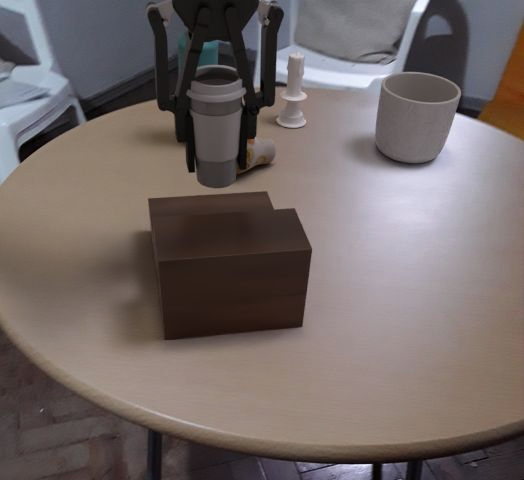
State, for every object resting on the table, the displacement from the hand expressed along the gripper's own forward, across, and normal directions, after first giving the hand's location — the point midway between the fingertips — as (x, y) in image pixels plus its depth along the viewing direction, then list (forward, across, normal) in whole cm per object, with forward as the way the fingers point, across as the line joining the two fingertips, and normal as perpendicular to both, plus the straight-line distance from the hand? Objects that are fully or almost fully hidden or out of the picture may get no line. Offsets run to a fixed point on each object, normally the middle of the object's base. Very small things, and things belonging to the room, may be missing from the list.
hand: (216, 165), depth 73 cm
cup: (+2, 0, 0) cm, 2 cm away
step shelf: (+13, 0, +4) cm, 14 cm away
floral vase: (+13, -8, -23) cm, 28 cm away
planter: (+13, -36, -25) cm, 46 cm away
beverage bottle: (+13, -2, -33) cm, 36 cm away
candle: (+13, -19, -38) cm, 44 cm away
